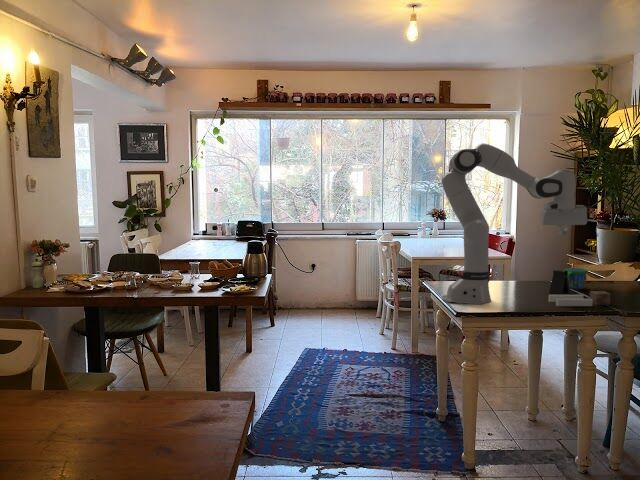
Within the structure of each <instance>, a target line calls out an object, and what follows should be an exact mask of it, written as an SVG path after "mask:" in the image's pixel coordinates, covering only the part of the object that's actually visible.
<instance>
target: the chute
mask: <svg viewBox="0 0 640 480" xmlns="http://www.w3.org/2000/svg"><path fill="white" fill-rule="evenodd" d="M584 296H585V295H584V294H548V302H549V303H551V304H553V305H555V306H556V307H593V299H590V298H584Z"/></svg>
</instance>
